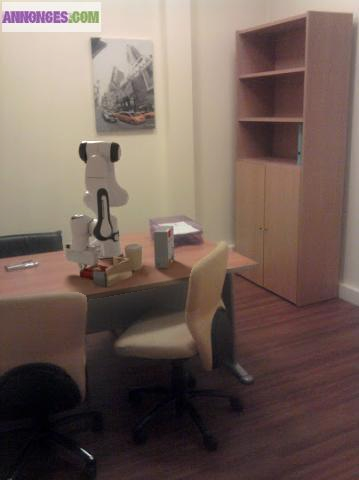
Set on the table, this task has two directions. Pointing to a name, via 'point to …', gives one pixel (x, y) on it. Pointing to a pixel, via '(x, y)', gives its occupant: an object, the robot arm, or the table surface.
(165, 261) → the hard drive box
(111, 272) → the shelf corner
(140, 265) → the coffee cup
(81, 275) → the hardcover book
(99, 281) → the bookend
